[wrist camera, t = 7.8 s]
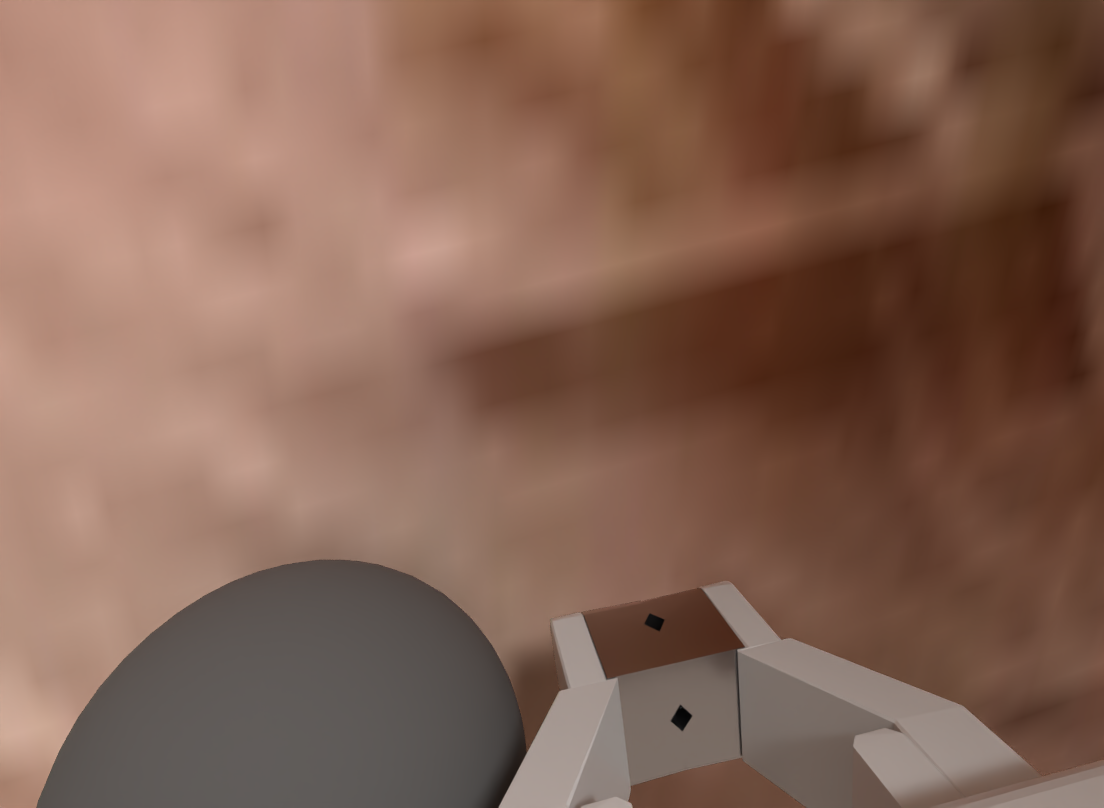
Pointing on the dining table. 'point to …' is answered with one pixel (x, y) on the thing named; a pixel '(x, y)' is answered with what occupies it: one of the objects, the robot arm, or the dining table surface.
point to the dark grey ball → (300, 702)
